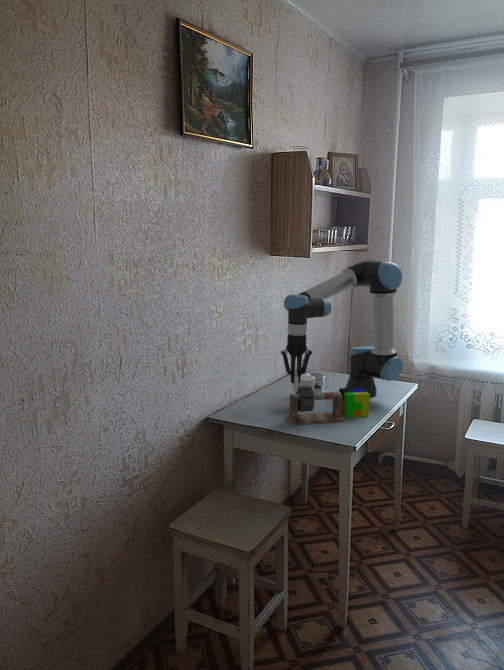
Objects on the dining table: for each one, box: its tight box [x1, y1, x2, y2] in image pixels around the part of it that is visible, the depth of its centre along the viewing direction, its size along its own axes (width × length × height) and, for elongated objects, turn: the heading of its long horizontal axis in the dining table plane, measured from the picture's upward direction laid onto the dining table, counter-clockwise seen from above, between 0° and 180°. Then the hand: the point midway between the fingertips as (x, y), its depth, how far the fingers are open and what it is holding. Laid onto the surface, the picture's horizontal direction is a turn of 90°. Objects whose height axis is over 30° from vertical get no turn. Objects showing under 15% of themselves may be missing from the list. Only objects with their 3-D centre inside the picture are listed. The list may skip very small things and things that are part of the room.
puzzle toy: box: [338, 387, 371, 419], centre depth 235 cm, size 10×10×10 cm
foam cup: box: [294, 374, 316, 394], centre depth 244 cm, size 10×9×13 cm
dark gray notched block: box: [294, 386, 316, 413], centre depth 224 cm, size 5×10×10 cm, turn 12°
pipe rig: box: [286, 391, 345, 426], centre depth 226 cm, size 22×9×12 cm, turn 102°
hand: (295, 390), depth 223 cm, fingers closed
